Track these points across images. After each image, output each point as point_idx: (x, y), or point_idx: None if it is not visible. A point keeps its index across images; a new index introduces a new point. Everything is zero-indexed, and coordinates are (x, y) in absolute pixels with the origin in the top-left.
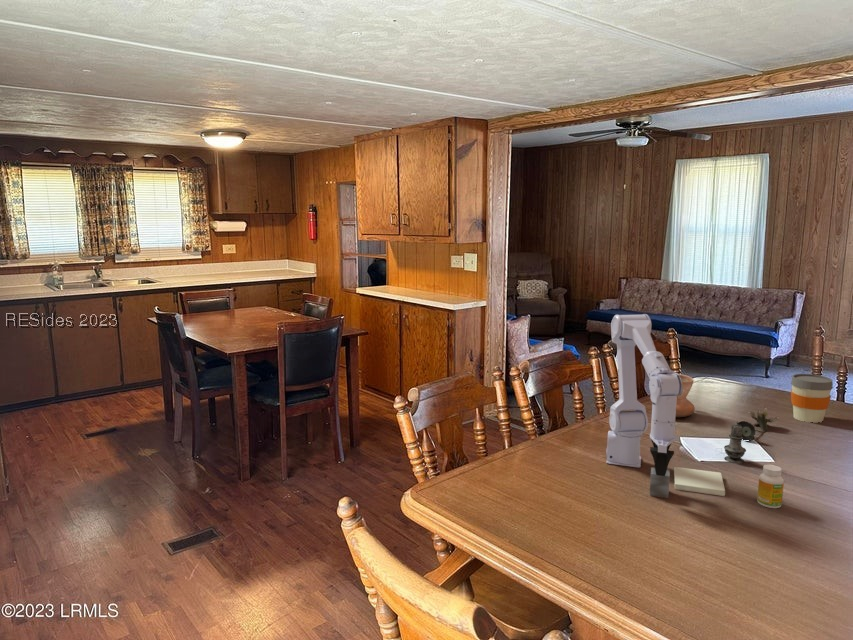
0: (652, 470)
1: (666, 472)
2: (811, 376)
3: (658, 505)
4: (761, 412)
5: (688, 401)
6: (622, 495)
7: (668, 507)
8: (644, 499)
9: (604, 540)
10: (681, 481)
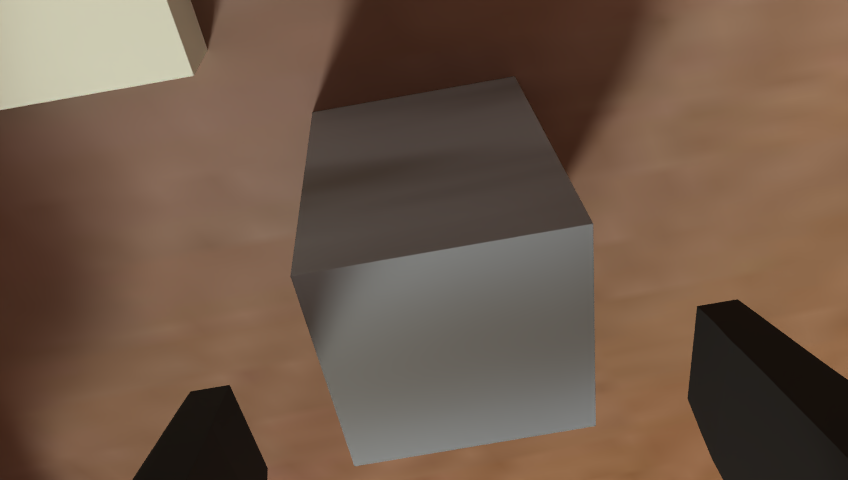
0: (459, 435)
1: (438, 289)
2: None
3: (733, 133)
4: None
5: None
6: (615, 402)
7: (757, 34)
8: (634, 262)
9: None
10: (38, 10)
